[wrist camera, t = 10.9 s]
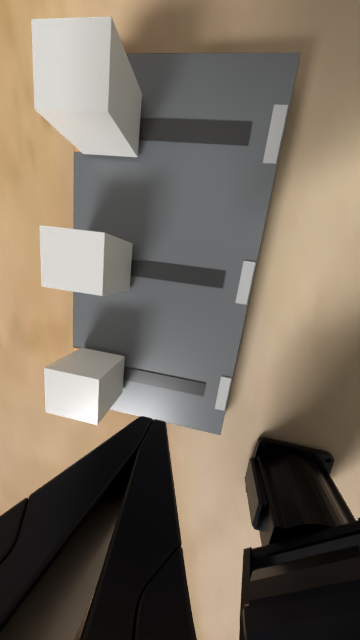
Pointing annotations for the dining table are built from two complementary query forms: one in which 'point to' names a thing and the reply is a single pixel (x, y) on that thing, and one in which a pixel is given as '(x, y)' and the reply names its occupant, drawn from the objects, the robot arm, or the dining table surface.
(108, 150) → the handle
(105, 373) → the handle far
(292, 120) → the dining table surface
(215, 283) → the breaker panel
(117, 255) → the handle mid
